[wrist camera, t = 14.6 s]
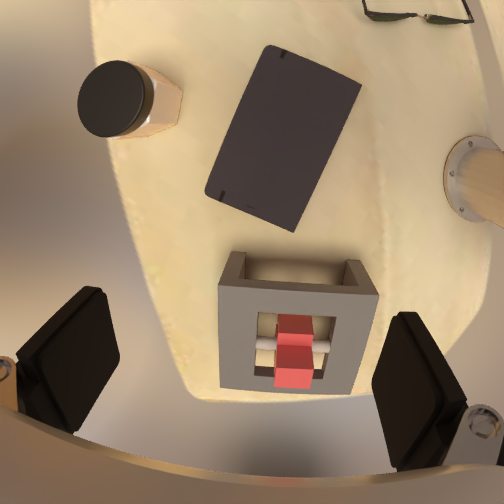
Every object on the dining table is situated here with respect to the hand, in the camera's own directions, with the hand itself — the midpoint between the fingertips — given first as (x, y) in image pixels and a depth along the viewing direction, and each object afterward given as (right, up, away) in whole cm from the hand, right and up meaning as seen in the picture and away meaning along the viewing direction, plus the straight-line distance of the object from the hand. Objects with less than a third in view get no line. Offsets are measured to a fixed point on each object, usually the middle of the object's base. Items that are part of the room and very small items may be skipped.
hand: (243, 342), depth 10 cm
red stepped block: (+6, -6, +35) cm, 35 cm away
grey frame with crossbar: (+6, -5, +36) cm, 37 cm away
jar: (-13, +22, +28) cm, 38 cm away
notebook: (+4, +17, +28) cm, 34 cm away
